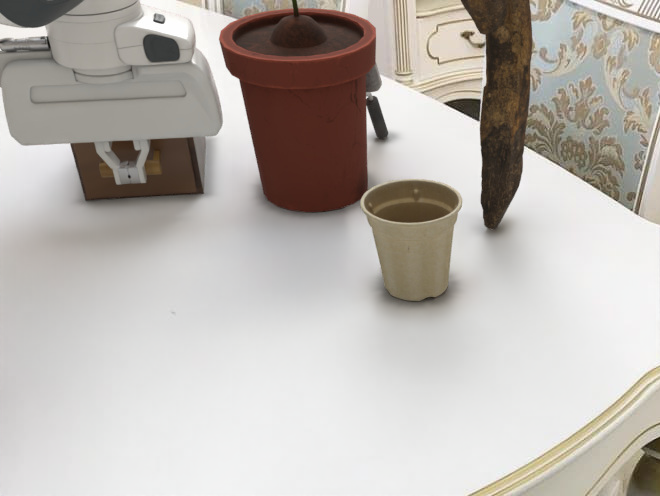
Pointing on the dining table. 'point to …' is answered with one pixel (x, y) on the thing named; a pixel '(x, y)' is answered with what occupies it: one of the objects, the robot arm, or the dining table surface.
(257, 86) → the potted plant
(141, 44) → the robot arm
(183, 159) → the drawer
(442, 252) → the flower pot
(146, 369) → the dining table surface
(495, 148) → the sculpture
